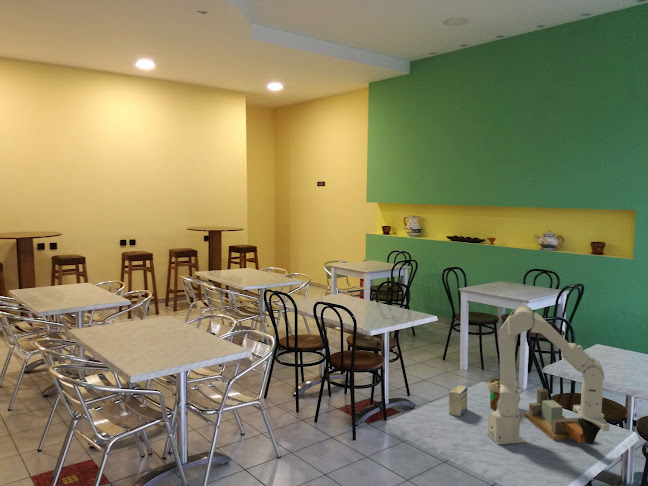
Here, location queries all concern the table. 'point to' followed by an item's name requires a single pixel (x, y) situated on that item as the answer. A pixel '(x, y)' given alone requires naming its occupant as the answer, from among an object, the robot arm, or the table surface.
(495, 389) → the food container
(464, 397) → the medicine box
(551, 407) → the block
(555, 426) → the clamp jaw
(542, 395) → the press
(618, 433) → the table surface
